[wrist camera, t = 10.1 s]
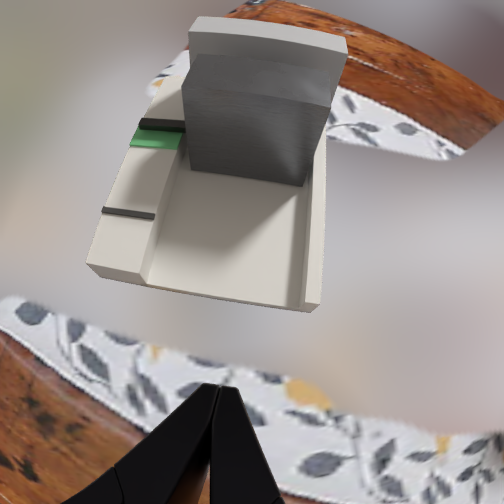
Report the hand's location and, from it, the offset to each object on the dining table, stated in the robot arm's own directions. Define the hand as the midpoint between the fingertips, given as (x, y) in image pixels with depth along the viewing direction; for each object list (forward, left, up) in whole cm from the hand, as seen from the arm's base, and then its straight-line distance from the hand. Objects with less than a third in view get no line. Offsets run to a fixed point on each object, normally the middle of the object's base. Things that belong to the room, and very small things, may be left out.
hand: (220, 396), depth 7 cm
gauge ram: (+5, +17, -13) cm, 22 cm away
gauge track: (+4, +15, -14) cm, 21 cm away
